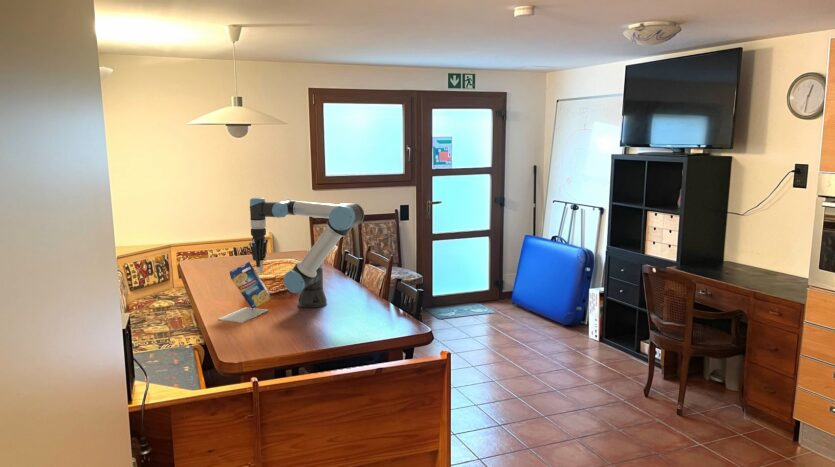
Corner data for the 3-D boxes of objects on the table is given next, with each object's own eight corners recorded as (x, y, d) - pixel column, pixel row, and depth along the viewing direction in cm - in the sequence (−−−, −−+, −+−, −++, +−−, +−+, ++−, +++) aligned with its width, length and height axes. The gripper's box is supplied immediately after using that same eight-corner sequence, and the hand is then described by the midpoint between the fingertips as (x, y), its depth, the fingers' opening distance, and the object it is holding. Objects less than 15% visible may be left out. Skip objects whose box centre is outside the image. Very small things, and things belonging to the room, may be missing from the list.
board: (268, 310, 301) (268, 309, 301) (241, 322, 281) (241, 321, 281) (245, 308, 306) (245, 307, 306) (217, 319, 286) (217, 318, 286)
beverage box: (271, 298, 304) (251, 268, 291) (251, 309, 303) (231, 279, 290) (268, 291, 310) (249, 261, 297) (249, 301, 308) (229, 271, 295)
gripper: (259, 225, 309) (261, 269, 312) (244, 229, 297) (245, 274, 300) (271, 226, 306) (273, 270, 310) (256, 229, 294) (258, 275, 298)
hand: (259, 272), depth 305 cm, fingers closed
